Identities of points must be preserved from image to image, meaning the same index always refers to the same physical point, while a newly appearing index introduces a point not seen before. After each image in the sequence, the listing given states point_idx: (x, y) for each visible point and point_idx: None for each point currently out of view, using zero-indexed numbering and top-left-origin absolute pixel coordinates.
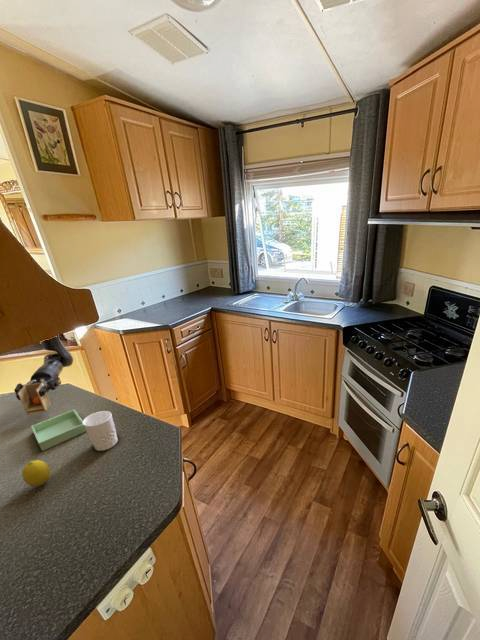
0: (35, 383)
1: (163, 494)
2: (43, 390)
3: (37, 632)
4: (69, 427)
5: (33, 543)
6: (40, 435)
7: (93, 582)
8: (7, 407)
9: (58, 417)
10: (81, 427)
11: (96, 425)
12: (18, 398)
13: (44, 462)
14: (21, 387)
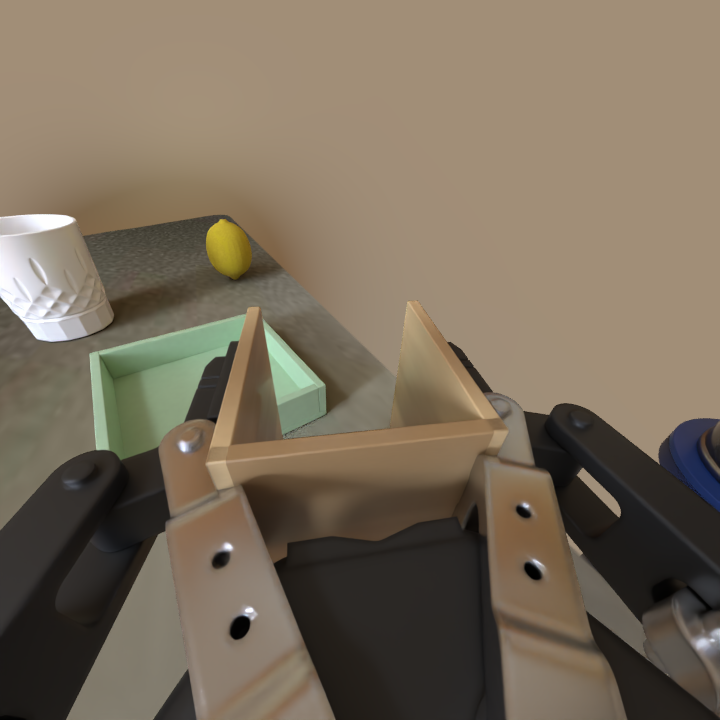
0: (429, 610)
1: None
2: (212, 370)
3: (212, 218)
4: (172, 403)
5: None
6: (286, 385)
7: (170, 224)
8: None
9: None
10: (115, 357)
11: (42, 215)
12: None
13: (208, 240)
14: (681, 591)
